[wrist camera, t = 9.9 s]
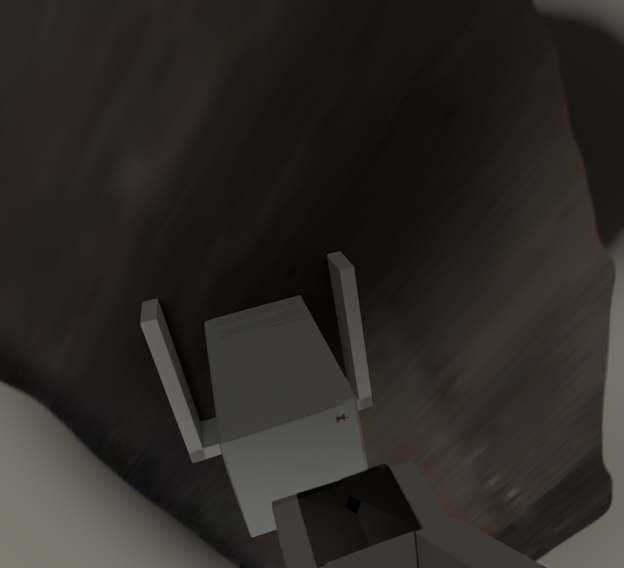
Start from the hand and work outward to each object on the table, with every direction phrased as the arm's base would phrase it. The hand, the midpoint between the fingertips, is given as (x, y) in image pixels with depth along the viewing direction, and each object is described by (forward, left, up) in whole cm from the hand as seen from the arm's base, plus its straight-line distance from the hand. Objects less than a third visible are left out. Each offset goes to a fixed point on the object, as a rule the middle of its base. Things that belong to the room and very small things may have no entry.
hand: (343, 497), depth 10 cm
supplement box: (+11, 0, -24) cm, 27 cm away
